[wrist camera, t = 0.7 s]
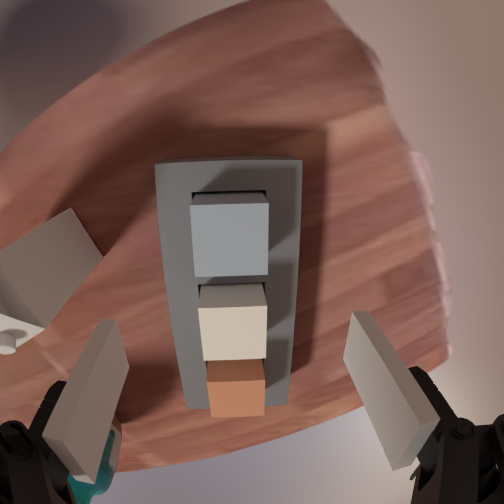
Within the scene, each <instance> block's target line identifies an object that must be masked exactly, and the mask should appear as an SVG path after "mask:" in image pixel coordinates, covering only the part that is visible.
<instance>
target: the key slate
mask: <svg viewBox="0 0 504 504" xmlns="http://www.w3.org/2000/svg"><path fill="white" fill-rule="evenodd" d="M190 215H191V231H192V245H193V258H194V271H195V277H215V276H245V275H268V225H269V203H268V201H267V199H266V198H265V196H264V194H263V193H262V191H261V190H241V191H208V192H196V194H195V196H194V198H193V200H192V202H191V204H190Z"/></svg>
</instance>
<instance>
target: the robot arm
mask: <svg viewBox="0 0 504 504" xmlns="http://www.w3.org/2000/svg"><path fill="white" fill-rule="evenodd" d="M343 361H344V363H345V365H346V367H347V369H348V371H349V373H350V376H351V378H352V380H353V382H354V384H355V386H356V389H357V391H358V393H359V395H360V397H361V400H362V402H363V404H364V406H365V408H366V411H367V413H368V415H369V417H370V420H371V422H372V424H373V426H374V428H375V431H376V433H377V435H378V438H379V440H380V442H381V445H382V447H383V449H384V452H385V454H386V456H387V458H388V461H389V463H390V466H391V468H392V470H397V469H400V468H403V467H406V466H409V465H411V464H412V463H413V461H414V460H415V458H416V457H418V460H419V462H420V465H419V466H418V467H417V468H416V470H415V471H414V473H413V474H412V475H411V477H410V480H413V478H414V477H415V476H416V479H415V485H414V490H413V495H412V500H411V504H504V414H502V415H500V416H498V417H497V418H496V420H495V421H494V423H493V424H490V425H478V426H475V425H474V424H473V423H472V422H471V421H469V420H468V419H465V418H458V417H457V416H456V415H455V414H454V412H453V410H452V409H451V407H450V406H449V404H448V403H447V401H446V400H445V398H444V397H443V396H442V394H441V393H440V391H438V388H437V387H436V385H435V384H433V381H432V380H431V378H430V377H429V375H428V374H427V373H426V372H425V371H423V370H422V369H420V368H419V367H418V366H415V367H411V368H407V366H406V365H405V363H404V362H403V360H402V359H401V357H400V356H399V354H398V353H397V351H396V350H395V348H394V347H393V346H392V344H391V343H390V341H389V340H388V338H387V337H386V335H385V334H384V333H383V331H382V330H381V328H380V327H379V325H378V324H377V323H376V321H375V320H374V318H373V317H372V316H371V314H370V313H369V311H368V310H363V311H353V312H352V315H351V321H350V326H349V331H348V337H347V342H346V347H345V352H344V357H343ZM128 370H129V364H128V360H127V357H126V353H125V350H124V346H123V342H122V339H121V335H120V331H119V327H118V323H117V319H101V320H100V322H99V323H98V325H97V327H96V329H95V330H94V332H93V334H92V336H91V338H90V339H89V341H88V343H87V345H86V347H85V349H84V350H83V352H82V354H81V356H80V358H79V360H78V362H77V363H76V365H75V367H74V369H73V371H72V373H71V375H70V377H69V379H68V381H67V382H66V381H59V380H58V381H57V382H56V383H55V384H53V385H52V386H51V387H50V388H49V390H48V392H47V393H46V395H45V397H44V400H43V401H42V403H41V405H40V408H39V409H38V411H37V413H36V415H35V417H34V419H33V421H32V423H31V425H30V427H29V429H27V428H26V426H25V425H24V424H23V423H22V422H19V421H16V420H13V421H7V422H5V423H3V424H2V425H1V426H0V446H1V447H0V504H77V503H76V500H75V497H74V494H73V491H72V488H71V485H70V483H69V482H68V480H67V479H68V476H69V472H70V474H71V475H72V476H73V477H74V478H75V480H78V481H82V482H86V483H91V484H95V481H96V477H97V473H98V469H99V466H100V462H101V458H102V455H103V451H104V447H105V444H106V440H107V437H108V433H109V430H110V427H111V423H112V420H113V417H114V413H115V410H116V407H117V404H118V401H119V397H120V394H121V391H122V388H123V385H124V382H125V379H126V376H127V373H128ZM496 464H497V467H498V469H497V467H496Z"/></svg>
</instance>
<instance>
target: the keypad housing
mask: <svg viewBox="0 0 504 504" xmlns="http://www.w3.org/2000/svg"><path fill="white" fill-rule="evenodd" d="M302 162H303V160H301V159H298V158H295V157H293V156H221V157H196V158H178V159H165V160H162V161H160V162H158V163H156V164H154V167H155V184H156V198H157V210H158V222H159V232H160V242H161V251H162V260H163V269H164V277H165V284H166V292H167V299H168V306H169V313H170V319H171V325H172V332H173V338H174V343H175V349H176V355H177V360H178V366H179V371H180V376H181V381H182V386H183V391H184V396H185V400H186V405H187V409H210V404H209V396H208V389H207V363H208V361H204V358H203V350H202V342H201V333H200V323H199V314H198V304H199V297H200V290H201V284H227V283H255V282H262V286H263V290H264V294H265V299H266V303H267V336H266V358H262V362H263V369H264V375H265V405H264V406H277V405H287V402H288V392H289V382H290V372H291V361H292V350H293V338H294V325H295V312H296V297H297V282H298V265H299V247H300V225H301V199H302ZM241 190H261V191H262V193H263V194H264V196H265V198H266V199H267V201H268V203H269V225H268V275H245V276H215V277H195V271H194V258H193V245H192V231H191V215H190V204H191V202H192V200H193V198H194V196H195V194H196V192H208V191H241Z"/></svg>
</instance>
